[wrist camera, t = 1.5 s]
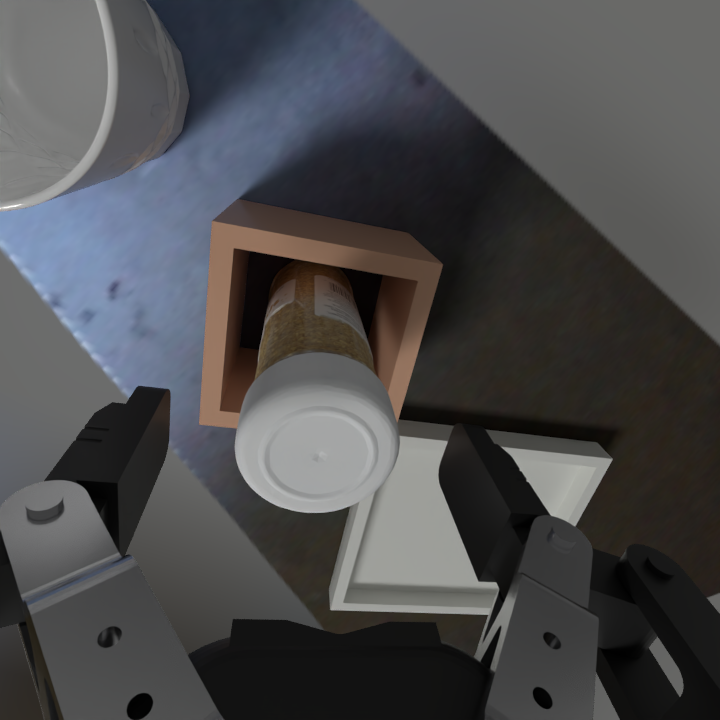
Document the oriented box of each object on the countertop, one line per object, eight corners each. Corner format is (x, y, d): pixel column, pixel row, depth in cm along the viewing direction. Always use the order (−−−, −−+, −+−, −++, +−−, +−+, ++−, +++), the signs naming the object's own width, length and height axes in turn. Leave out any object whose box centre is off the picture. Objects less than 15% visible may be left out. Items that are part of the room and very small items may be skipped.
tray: (596, 442, 31) (612, 458, 29) (515, 595, 37) (525, 615, 36) (373, 416, 28) (378, 433, 26) (329, 588, 34) (330, 610, 33)
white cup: (148, -72, 17) (-32, -314, 8) (233, 150, 20) (177, 157, 11) (-46, -5, 17) (-434, -164, 8) (73, 203, 21) (-105, 251, 12)
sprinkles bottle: (255, 272, 23) (200, 418, 11) (338, 243, 23) (375, 359, 11) (288, 347, 25) (273, 539, 13) (365, 321, 25) (421, 491, 13)
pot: (408, 232, 23) (443, 264, 17) (372, 377, 26) (391, 444, 21) (237, 198, 21) (211, 220, 15) (223, 358, 25) (199, 424, 19)
